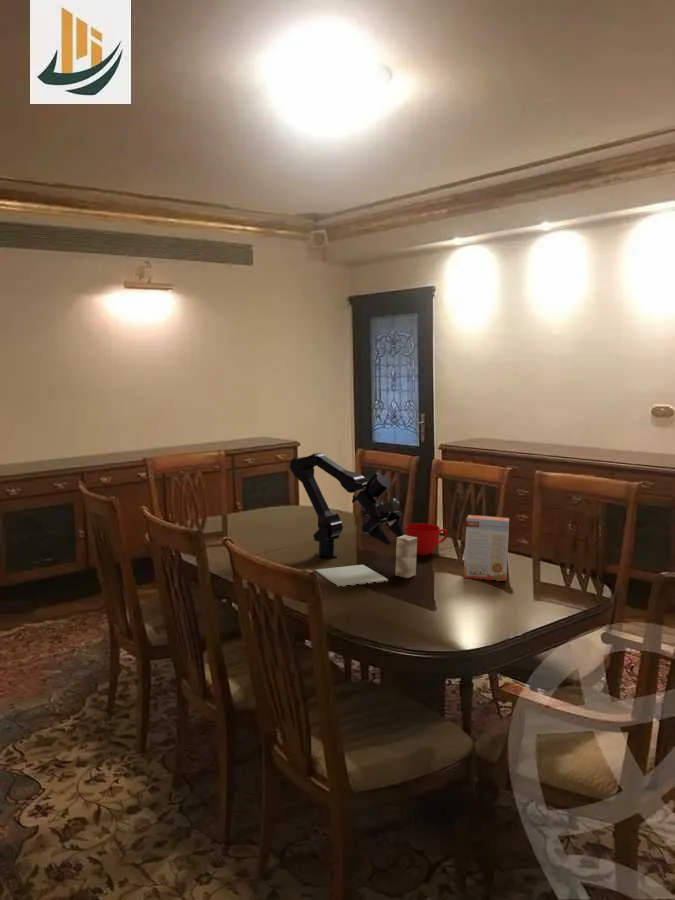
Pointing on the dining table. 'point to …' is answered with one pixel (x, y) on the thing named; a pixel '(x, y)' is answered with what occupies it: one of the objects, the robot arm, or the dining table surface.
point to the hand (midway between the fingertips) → (396, 541)
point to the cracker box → (486, 547)
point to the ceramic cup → (425, 536)
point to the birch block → (406, 556)
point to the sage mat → (351, 575)
